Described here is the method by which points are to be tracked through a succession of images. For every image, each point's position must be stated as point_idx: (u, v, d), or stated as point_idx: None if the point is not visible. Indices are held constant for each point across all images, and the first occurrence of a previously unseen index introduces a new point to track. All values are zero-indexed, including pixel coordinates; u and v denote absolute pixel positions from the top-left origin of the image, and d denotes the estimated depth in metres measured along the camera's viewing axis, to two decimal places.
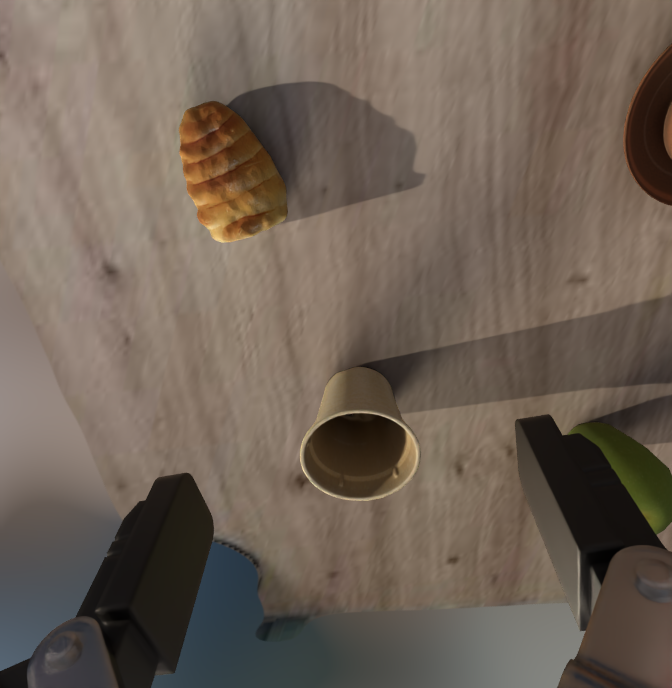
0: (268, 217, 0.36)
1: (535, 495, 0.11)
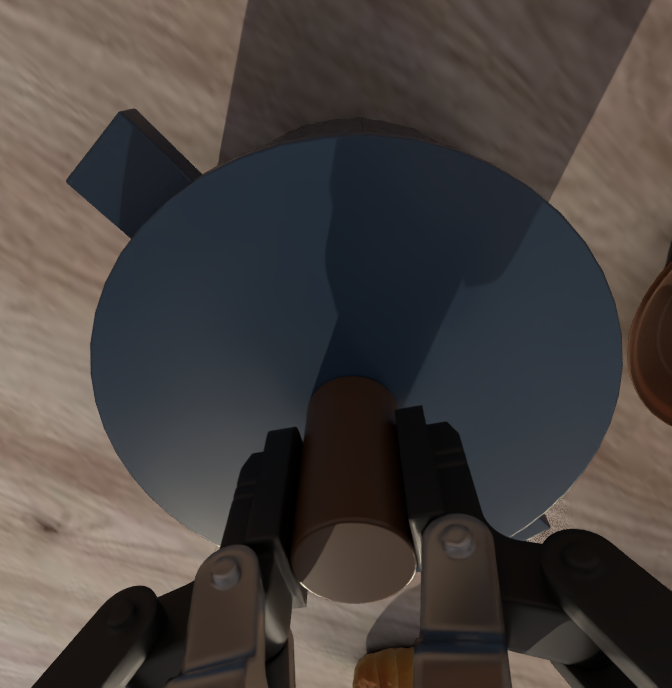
0: None
1: None
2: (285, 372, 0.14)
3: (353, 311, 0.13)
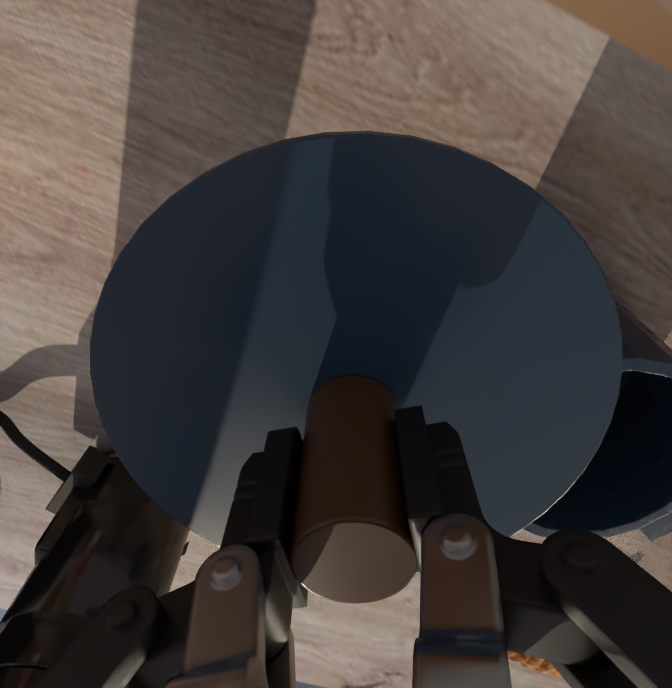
0: None
1: None
2: (285, 372, 0.14)
3: (353, 311, 0.13)
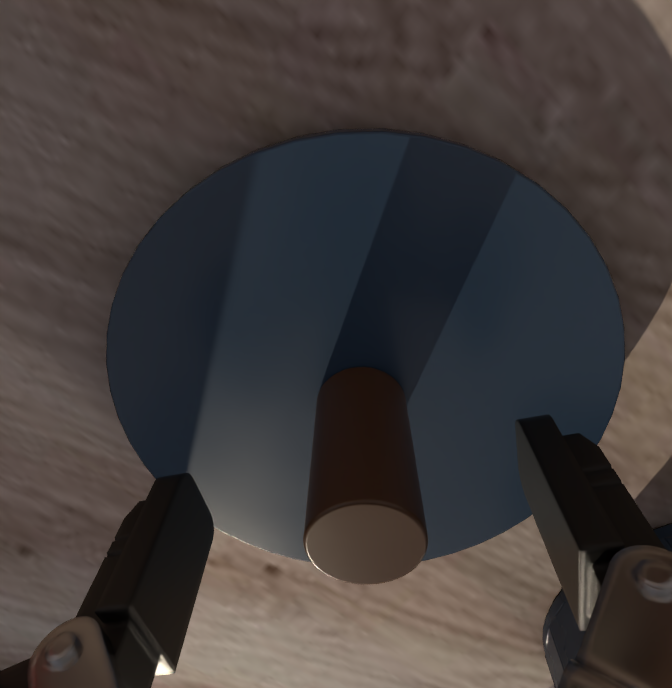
0: None
1: (535, 495, 0.11)
2: (296, 363, 0.14)
3: (363, 303, 0.13)
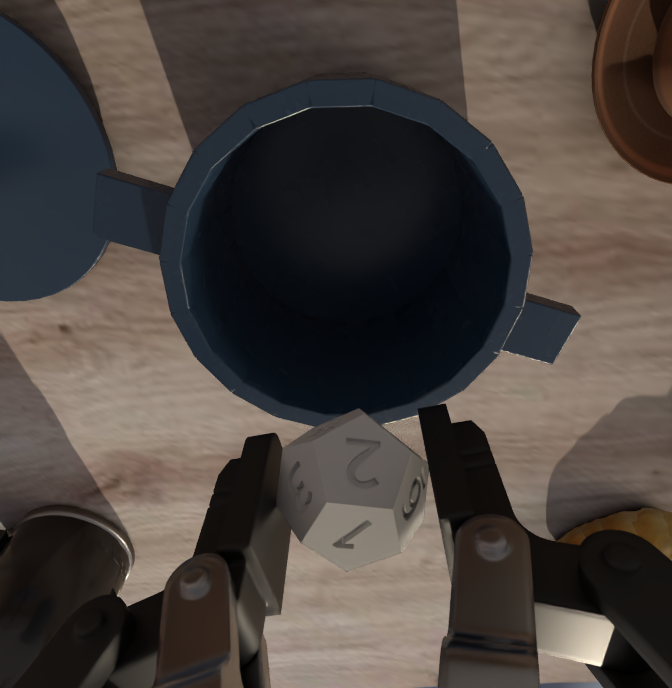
0: None
1: (430, 476, 0.12)
2: None
3: None
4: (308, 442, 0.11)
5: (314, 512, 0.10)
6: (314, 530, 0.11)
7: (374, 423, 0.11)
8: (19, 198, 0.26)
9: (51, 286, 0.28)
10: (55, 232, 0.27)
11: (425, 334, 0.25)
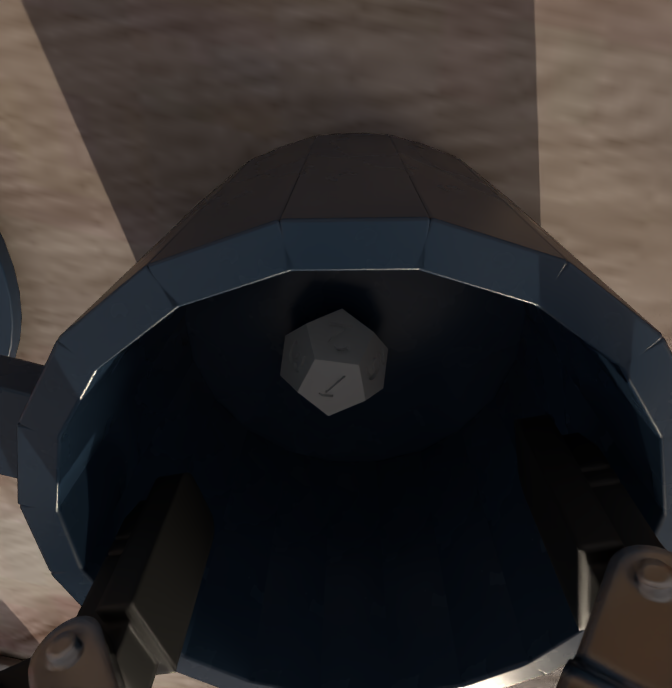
0: None
1: (534, 495, 0.11)
2: None
3: None
4: (303, 325, 0.16)
5: (306, 368, 0.16)
6: (306, 381, 0.16)
7: (348, 314, 0.16)
8: None
9: None
10: None
11: (472, 523, 0.17)
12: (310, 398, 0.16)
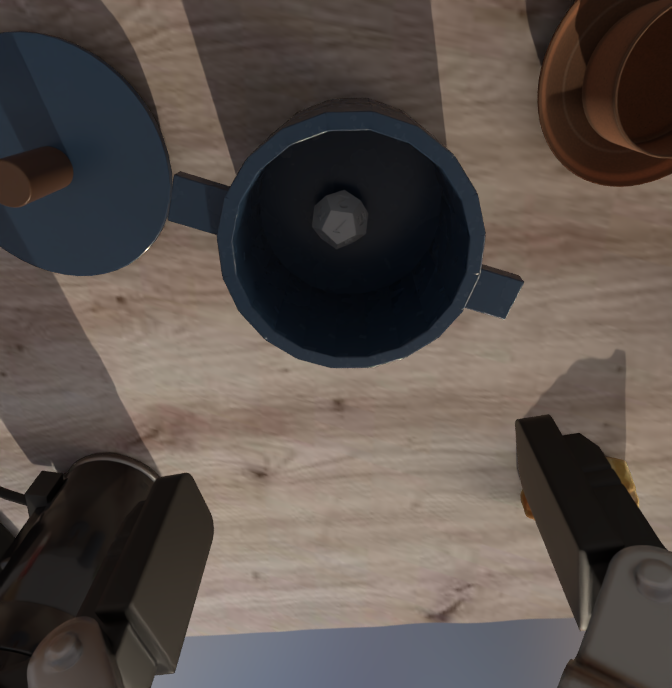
0: (625, 486, 0.42)
1: (535, 495, 0.11)
2: None
3: (14, 120, 0.31)
4: (324, 197, 0.32)
5: (326, 216, 0.31)
6: (326, 223, 0.31)
7: (347, 192, 0.32)
8: (94, 193, 0.33)
9: (114, 264, 0.35)
10: (121, 220, 0.34)
11: (411, 300, 0.32)
12: (328, 233, 0.31)
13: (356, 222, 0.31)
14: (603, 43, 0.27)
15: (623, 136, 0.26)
